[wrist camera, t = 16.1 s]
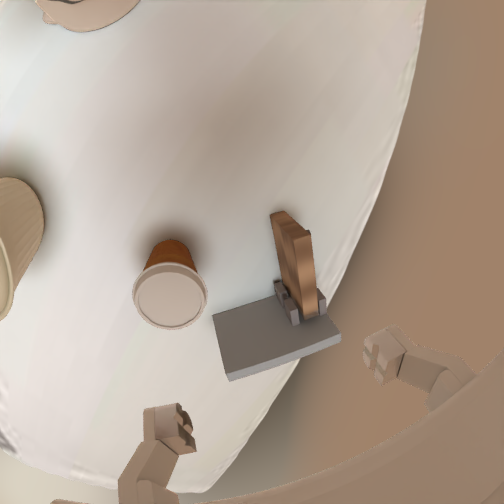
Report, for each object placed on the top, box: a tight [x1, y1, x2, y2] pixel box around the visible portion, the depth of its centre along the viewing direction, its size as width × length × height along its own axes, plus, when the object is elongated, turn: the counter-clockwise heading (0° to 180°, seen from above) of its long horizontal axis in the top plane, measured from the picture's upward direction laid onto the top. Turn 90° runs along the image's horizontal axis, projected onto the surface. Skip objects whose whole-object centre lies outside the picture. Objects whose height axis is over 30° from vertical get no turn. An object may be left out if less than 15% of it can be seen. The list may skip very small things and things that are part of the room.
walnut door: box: [270, 211, 319, 320], centre depth 43 cm, size 14×4×10 cm, turn 12°
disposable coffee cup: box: [132, 240, 208, 330], centre depth 37 cm, size 10×10×12 cm
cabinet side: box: [212, 282, 341, 382], centre depth 44 cm, size 5×18×14 cm, turn 102°
